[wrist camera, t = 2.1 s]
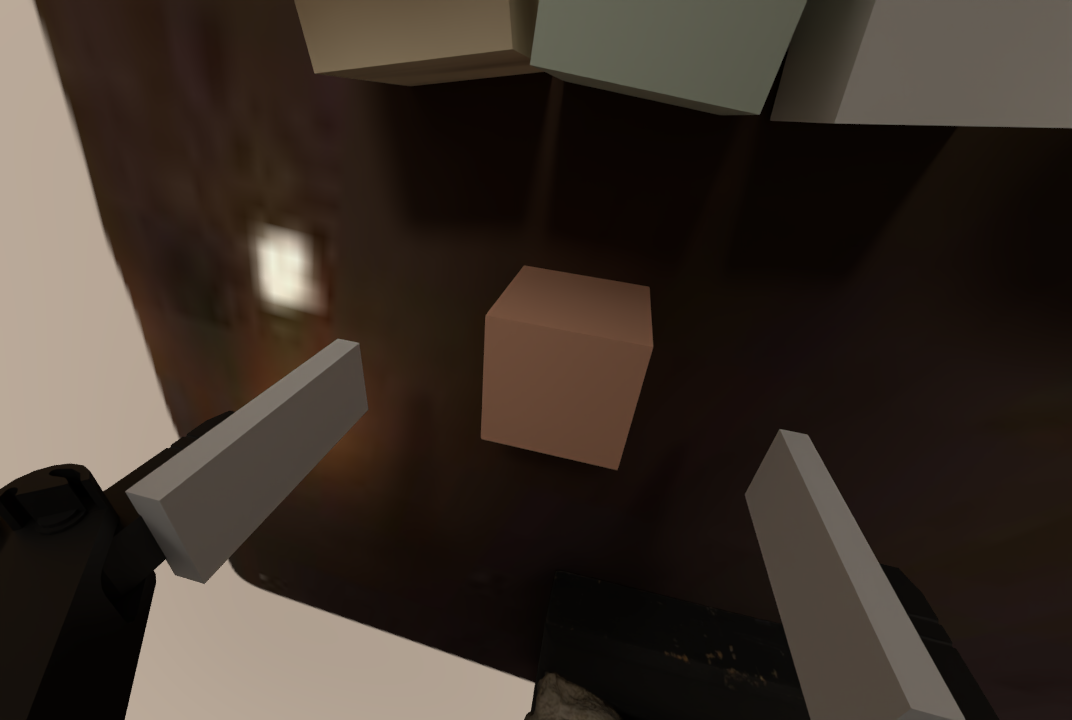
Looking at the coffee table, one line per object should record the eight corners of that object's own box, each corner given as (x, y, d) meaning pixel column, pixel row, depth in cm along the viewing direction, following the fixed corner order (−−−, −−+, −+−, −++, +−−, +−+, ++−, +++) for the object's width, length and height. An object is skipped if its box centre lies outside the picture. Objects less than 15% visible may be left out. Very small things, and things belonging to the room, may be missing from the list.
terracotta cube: (524, 264, 17) (485, 315, 12) (649, 285, 16) (653, 347, 12) (515, 368, 19) (480, 438, 15) (622, 390, 19) (617, 470, 14)
